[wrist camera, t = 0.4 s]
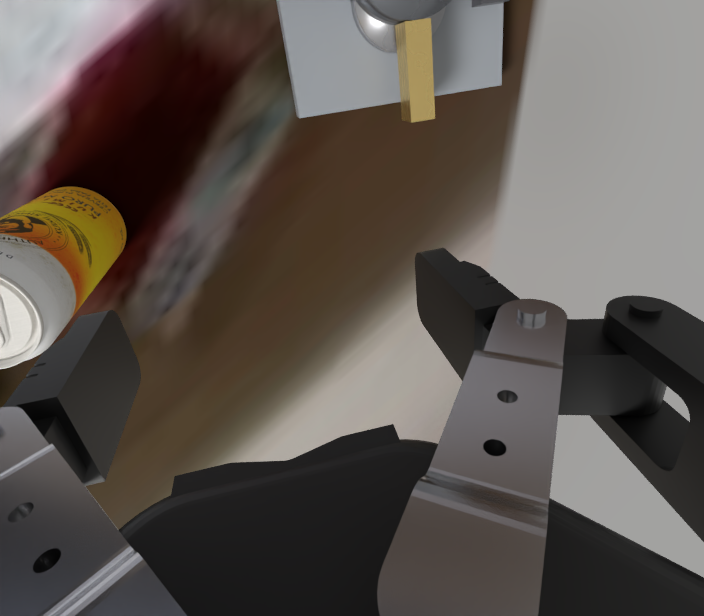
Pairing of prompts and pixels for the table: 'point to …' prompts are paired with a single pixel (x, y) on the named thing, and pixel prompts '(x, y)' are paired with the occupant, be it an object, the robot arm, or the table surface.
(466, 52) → the stand
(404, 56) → the valve handle
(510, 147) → the table surface
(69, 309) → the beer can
